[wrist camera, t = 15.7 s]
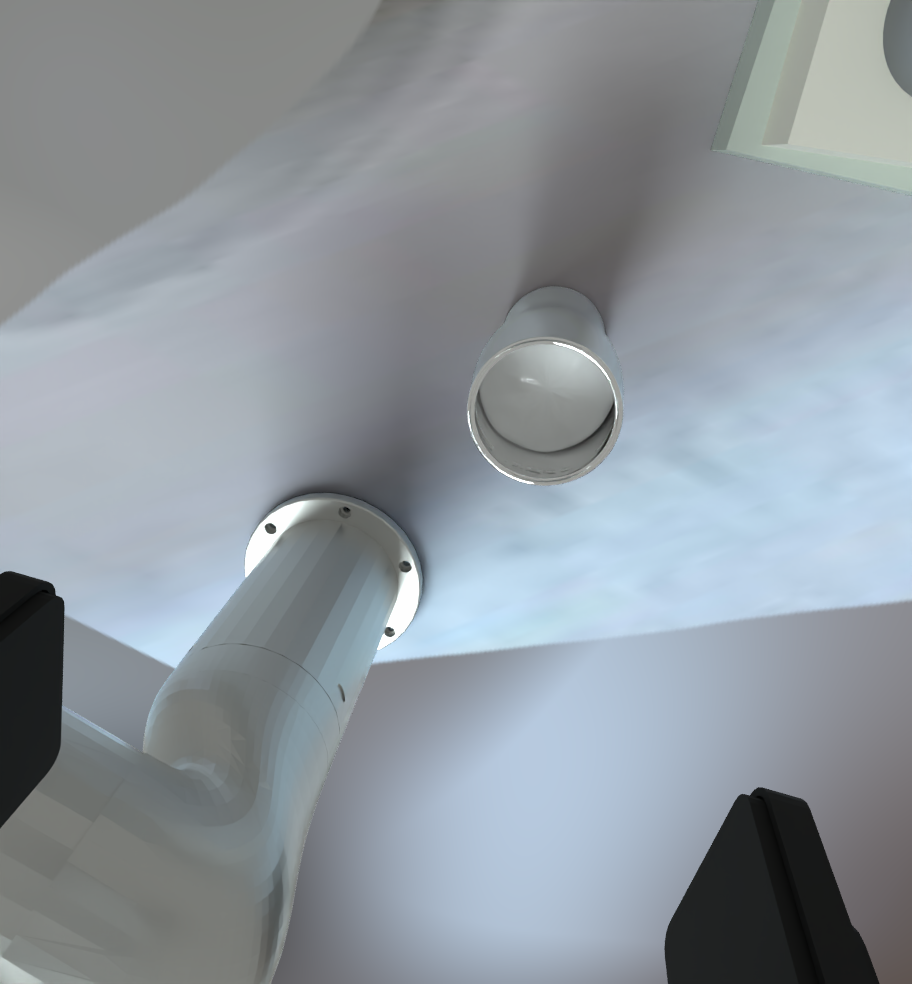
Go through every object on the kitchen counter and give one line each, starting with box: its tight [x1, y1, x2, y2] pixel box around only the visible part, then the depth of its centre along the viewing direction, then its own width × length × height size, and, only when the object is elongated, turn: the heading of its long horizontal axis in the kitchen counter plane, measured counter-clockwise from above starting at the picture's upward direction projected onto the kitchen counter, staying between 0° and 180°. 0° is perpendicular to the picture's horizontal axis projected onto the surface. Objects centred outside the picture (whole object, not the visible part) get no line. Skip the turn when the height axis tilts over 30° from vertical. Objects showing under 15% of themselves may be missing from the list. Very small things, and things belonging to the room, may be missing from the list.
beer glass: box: [467, 286, 624, 486], centre depth 39 cm, size 7×7×15 cm
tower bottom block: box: [711, 0, 912, 196], centre depth 36 cm, size 12×12×5 cm
